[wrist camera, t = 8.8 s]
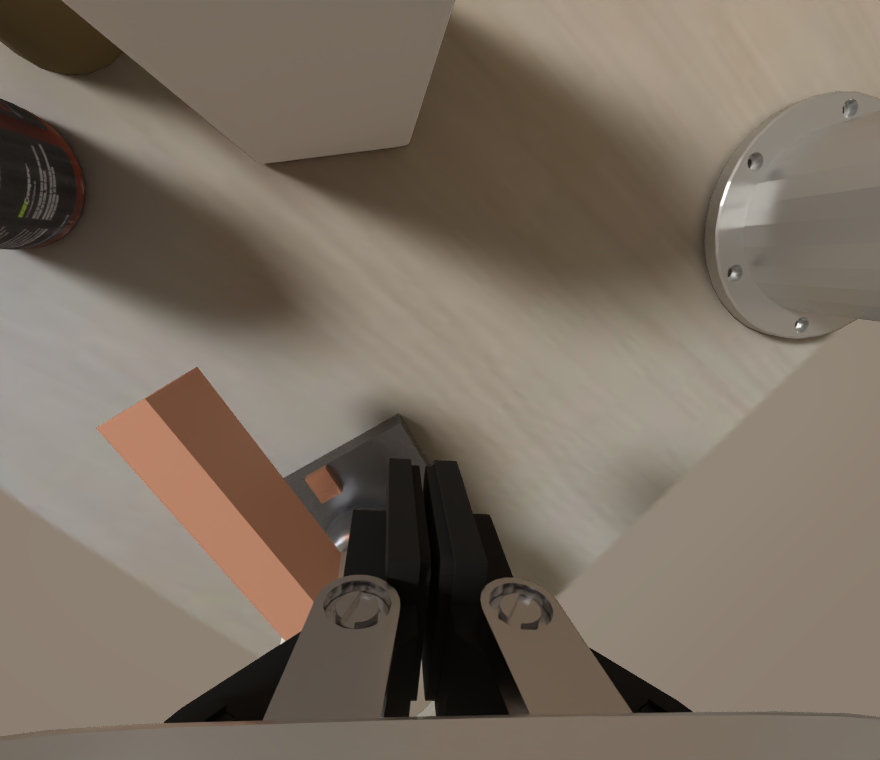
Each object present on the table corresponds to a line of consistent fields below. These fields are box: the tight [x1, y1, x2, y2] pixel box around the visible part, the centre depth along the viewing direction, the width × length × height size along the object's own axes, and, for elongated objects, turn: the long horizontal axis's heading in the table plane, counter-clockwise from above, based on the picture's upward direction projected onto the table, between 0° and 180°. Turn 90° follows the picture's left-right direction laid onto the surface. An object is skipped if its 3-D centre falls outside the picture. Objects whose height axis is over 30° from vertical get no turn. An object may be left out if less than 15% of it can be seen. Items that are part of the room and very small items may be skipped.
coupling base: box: [283, 414, 430, 553], centre depth 24 cm, size 10×10×6 cm
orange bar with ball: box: [96, 367, 431, 717], centre depth 17 cm, size 16×6×4 cm, turn 30°
